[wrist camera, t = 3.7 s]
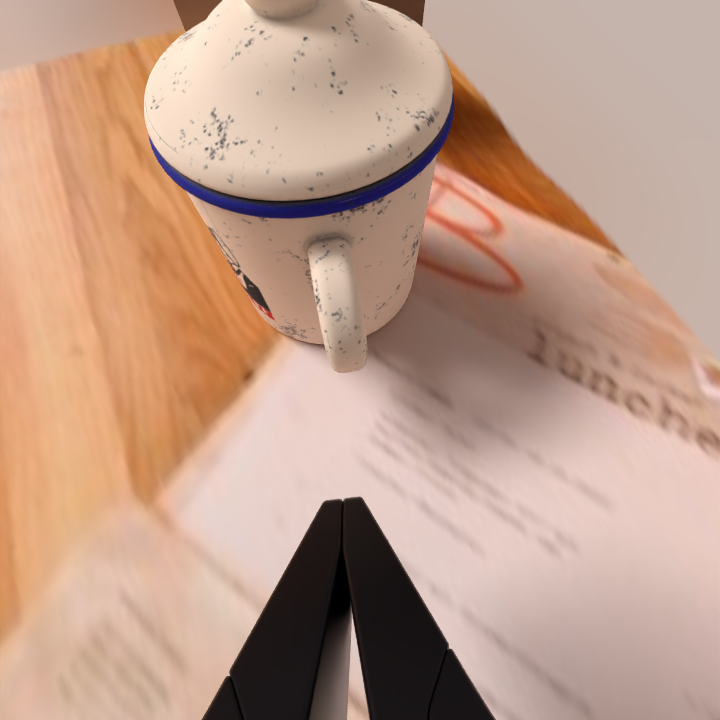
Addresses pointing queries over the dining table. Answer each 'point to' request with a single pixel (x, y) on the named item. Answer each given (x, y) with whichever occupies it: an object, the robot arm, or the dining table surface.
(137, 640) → the dining table surface
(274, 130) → the teacup with lid
